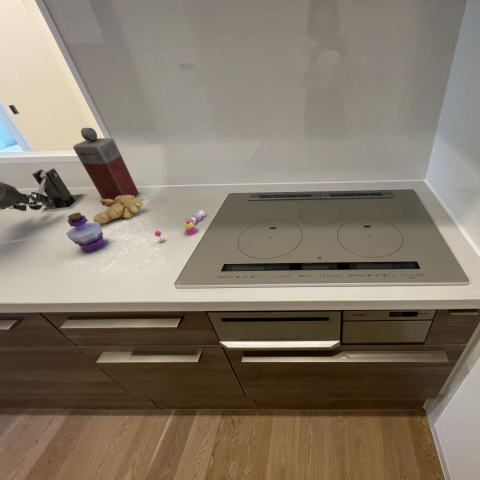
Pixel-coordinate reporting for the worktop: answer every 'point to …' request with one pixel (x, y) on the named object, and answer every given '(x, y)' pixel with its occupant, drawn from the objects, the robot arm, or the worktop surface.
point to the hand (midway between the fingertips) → (39, 206)
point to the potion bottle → (85, 233)
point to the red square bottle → (105, 165)
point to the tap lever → (41, 189)
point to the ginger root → (118, 208)
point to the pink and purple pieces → (189, 223)
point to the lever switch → (56, 190)
